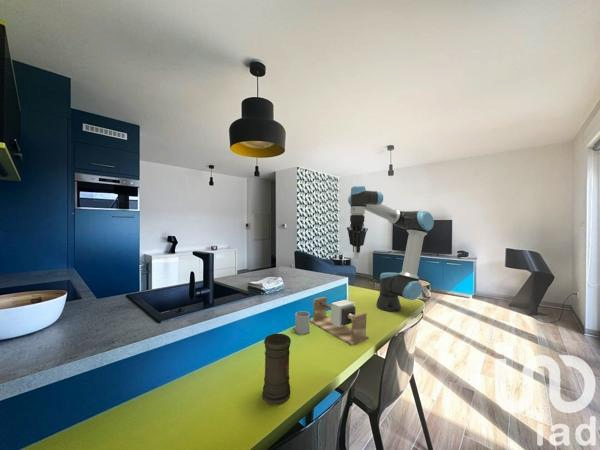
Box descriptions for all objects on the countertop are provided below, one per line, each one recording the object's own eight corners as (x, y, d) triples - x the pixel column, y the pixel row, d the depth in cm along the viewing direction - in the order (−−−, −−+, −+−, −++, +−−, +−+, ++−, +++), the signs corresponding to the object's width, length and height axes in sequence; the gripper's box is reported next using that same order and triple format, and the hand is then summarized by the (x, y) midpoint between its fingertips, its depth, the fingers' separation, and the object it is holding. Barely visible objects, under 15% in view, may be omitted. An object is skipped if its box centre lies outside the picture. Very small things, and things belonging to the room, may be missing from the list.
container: (266, 408, 72) (268, 348, 71) (259, 389, 80) (260, 335, 80) (294, 400, 75) (296, 343, 75) (284, 382, 83) (286, 330, 83)
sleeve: (330, 322, 122) (331, 303, 121) (344, 318, 127) (345, 299, 127) (339, 327, 117) (340, 306, 117) (353, 322, 123) (354, 302, 122)
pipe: (318, 305, 135) (318, 300, 135) (321, 304, 137) (322, 299, 137) (356, 323, 113) (357, 317, 113) (361, 322, 114) (361, 316, 114)
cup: (299, 335, 118) (299, 317, 117) (290, 327, 126) (290, 310, 126) (312, 333, 121) (312, 315, 121) (302, 325, 130) (302, 308, 130)
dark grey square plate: (341, 324, 117) (341, 308, 117) (352, 320, 122) (352, 305, 122) (344, 325, 116) (344, 309, 116) (355, 322, 120) (355, 306, 120)
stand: (310, 322, 134) (310, 299, 133) (326, 317, 141) (326, 296, 140) (351, 345, 109) (352, 318, 109) (368, 338, 116) (369, 312, 116)
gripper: (343, 214, 133) (342, 257, 134) (362, 214, 123) (361, 260, 123) (352, 215, 138) (351, 256, 138) (371, 214, 127) (370, 259, 127)
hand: (356, 258), depth 131 cm, fingers closed
